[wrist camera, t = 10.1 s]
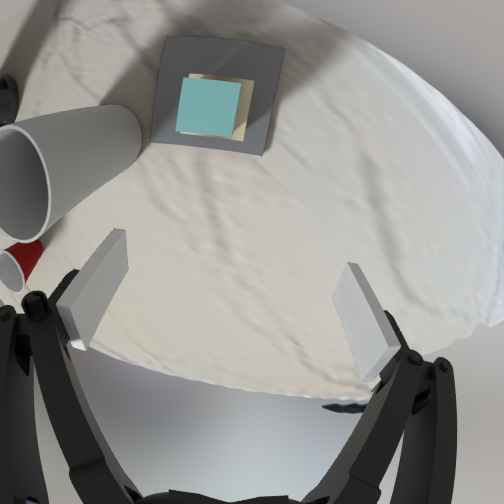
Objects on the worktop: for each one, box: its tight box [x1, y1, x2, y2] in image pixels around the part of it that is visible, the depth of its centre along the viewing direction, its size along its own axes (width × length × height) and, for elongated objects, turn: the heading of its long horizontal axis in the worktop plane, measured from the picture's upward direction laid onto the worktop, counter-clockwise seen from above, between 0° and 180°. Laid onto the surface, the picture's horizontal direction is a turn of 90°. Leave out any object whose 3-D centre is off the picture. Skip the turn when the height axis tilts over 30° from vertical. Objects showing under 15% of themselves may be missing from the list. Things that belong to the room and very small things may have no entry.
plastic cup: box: [0, 239, 43, 294], centre depth 44 cm, size 11×11×12 cm
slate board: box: [150, 36, 285, 156], centre depth 35 cm, size 18×18×2 cm
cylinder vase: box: [0, 104, 142, 243], centre depth 28 cm, size 12×12×25 cm
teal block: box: [176, 78, 242, 138], centre depth 23 cm, size 5×5×6 cm
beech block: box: [180, 74, 254, 141], centre depth 28 cm, size 7×7×6 cm
